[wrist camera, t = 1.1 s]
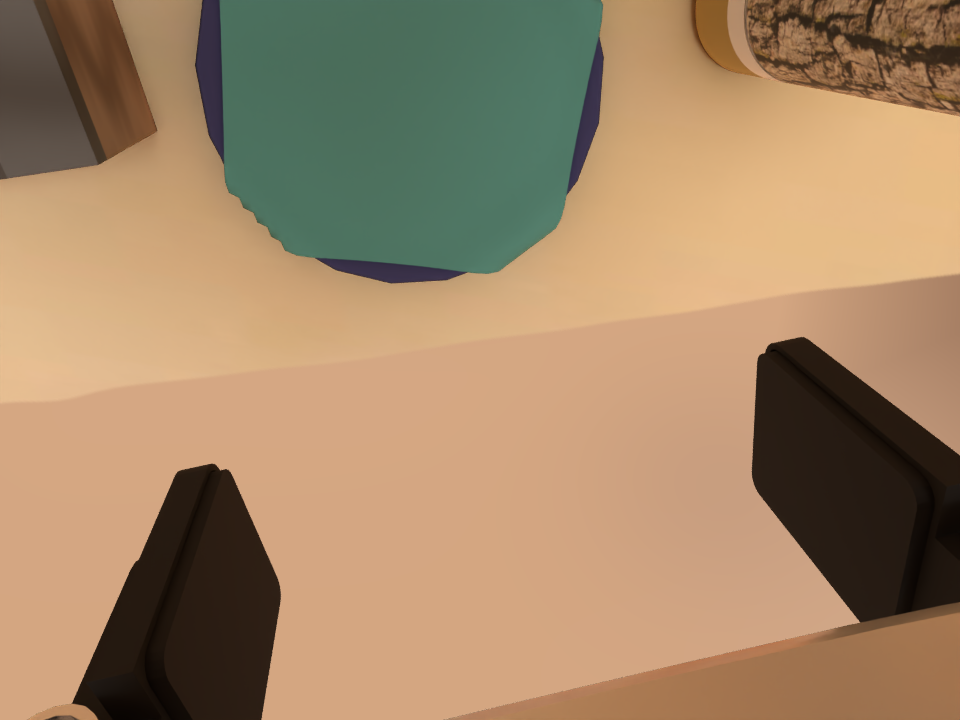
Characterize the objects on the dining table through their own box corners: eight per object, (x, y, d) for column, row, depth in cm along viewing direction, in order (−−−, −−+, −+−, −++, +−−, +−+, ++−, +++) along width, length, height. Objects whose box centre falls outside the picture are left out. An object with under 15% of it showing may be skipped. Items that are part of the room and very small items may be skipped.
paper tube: (663, 27, 34) (1172, 71, 12) (748, -110, 32) (1568, -360, 10) (757, 97, 36) (1325, 237, 15) (842, -26, 34) (1673, -78, 12)
